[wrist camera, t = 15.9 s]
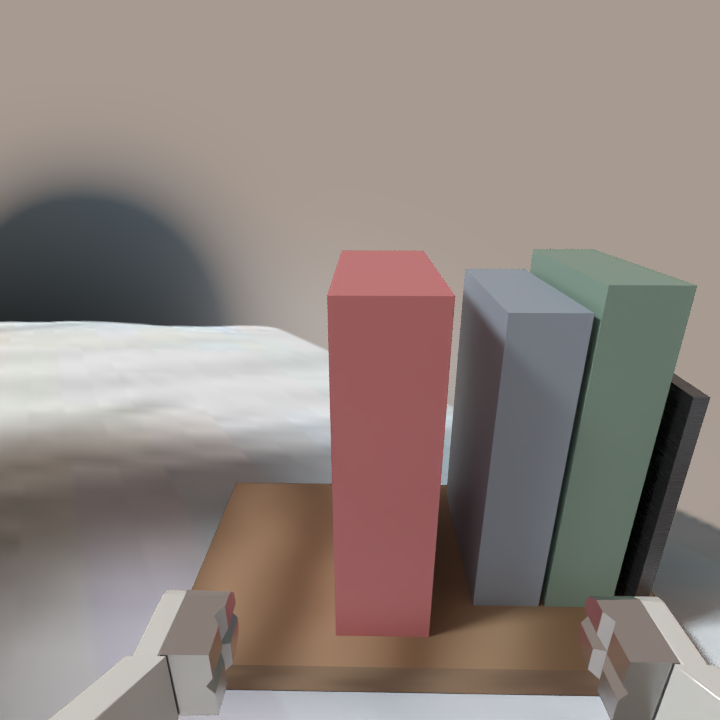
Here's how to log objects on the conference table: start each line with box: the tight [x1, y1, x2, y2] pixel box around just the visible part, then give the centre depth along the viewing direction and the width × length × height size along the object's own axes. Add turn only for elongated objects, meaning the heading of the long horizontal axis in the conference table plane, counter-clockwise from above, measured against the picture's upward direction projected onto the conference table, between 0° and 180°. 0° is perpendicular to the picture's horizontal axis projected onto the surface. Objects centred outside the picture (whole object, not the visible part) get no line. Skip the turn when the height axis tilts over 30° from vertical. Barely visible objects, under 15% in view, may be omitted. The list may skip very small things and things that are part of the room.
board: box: [192, 483, 655, 696], centre depth 25 cm, size 22×12×2 cm, turn 89°
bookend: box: [615, 374, 710, 597], centre depth 23 cm, size 1×9×11 cm, turn 179°
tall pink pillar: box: [327, 251, 455, 637], centre depth 22 cm, size 4×9×15 cm, turn 179°
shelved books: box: [446, 249, 697, 607], centre depth 23 cm, size 6×8×15 cm
